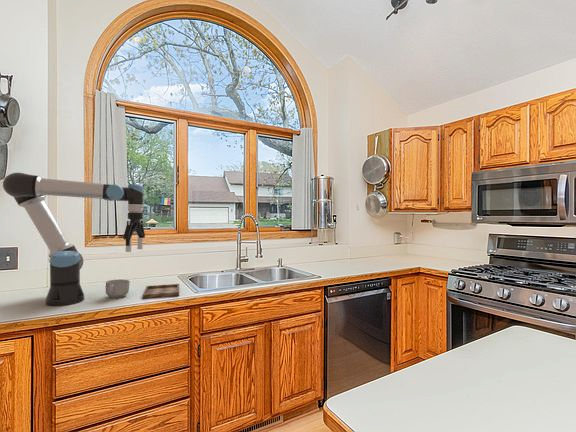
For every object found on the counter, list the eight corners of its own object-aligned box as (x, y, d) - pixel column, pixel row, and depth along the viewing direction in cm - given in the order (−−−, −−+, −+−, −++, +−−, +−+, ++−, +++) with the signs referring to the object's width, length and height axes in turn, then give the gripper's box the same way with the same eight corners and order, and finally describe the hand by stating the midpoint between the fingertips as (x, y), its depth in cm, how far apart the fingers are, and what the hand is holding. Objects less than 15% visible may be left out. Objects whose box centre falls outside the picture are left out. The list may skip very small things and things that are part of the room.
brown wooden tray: (142, 298, 160) (142, 294, 160) (146, 289, 179) (146, 285, 179) (179, 296, 165) (179, 292, 165) (179, 287, 184) (179, 283, 184)
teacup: (113, 293, 170) (113, 278, 170) (134, 294, 169) (133, 278, 169) (96, 301, 156) (96, 284, 156) (118, 301, 155) (118, 284, 155)
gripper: (131, 212, 168) (130, 253, 168) (151, 212, 193) (150, 248, 193) (116, 211, 168) (115, 252, 168) (138, 212, 193) (138, 248, 193)
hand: (134, 250), depth 181 cm, fingers open, 13 cm apart
